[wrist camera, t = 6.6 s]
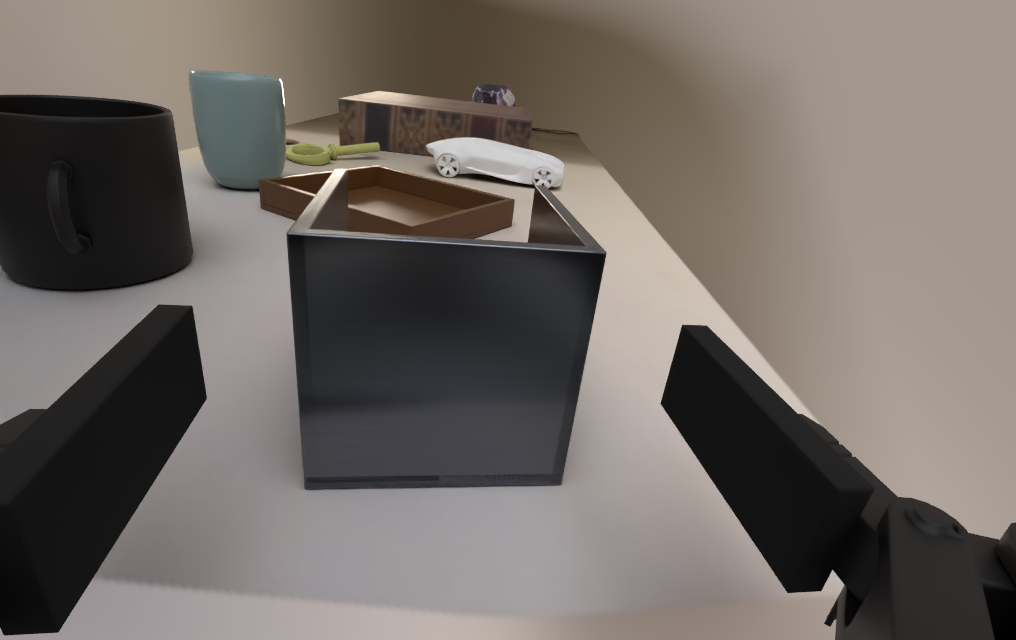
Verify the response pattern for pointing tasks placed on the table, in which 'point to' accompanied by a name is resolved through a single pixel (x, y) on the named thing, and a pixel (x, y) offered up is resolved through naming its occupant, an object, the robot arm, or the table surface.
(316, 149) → the key
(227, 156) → the cup
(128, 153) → the mug
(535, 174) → the toy car
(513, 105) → the mineral specimen
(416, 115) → the book
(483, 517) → the table surface
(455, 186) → the tray
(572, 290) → the grey open-sided box
